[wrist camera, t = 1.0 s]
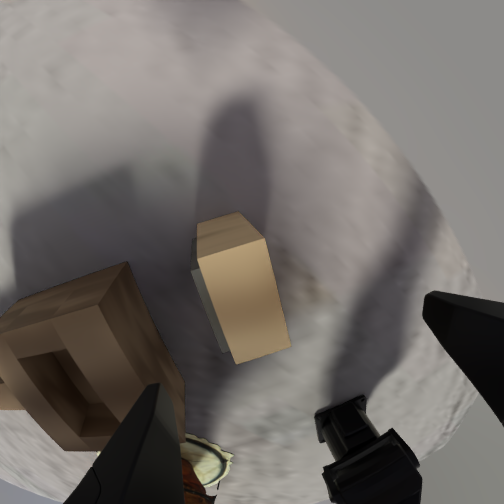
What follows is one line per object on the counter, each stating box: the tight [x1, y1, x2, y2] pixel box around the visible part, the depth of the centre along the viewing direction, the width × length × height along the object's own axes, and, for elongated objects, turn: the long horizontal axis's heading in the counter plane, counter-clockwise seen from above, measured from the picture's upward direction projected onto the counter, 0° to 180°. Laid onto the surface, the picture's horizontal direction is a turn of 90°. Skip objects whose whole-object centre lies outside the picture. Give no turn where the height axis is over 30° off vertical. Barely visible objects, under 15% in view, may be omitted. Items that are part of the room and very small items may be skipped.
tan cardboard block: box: [191, 211, 291, 365], centre depth 17 cm, size 6×4×8 cm, turn 14°
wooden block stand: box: [0, 262, 186, 451], centre depth 16 cm, size 12×34×7 cm, turn 104°
